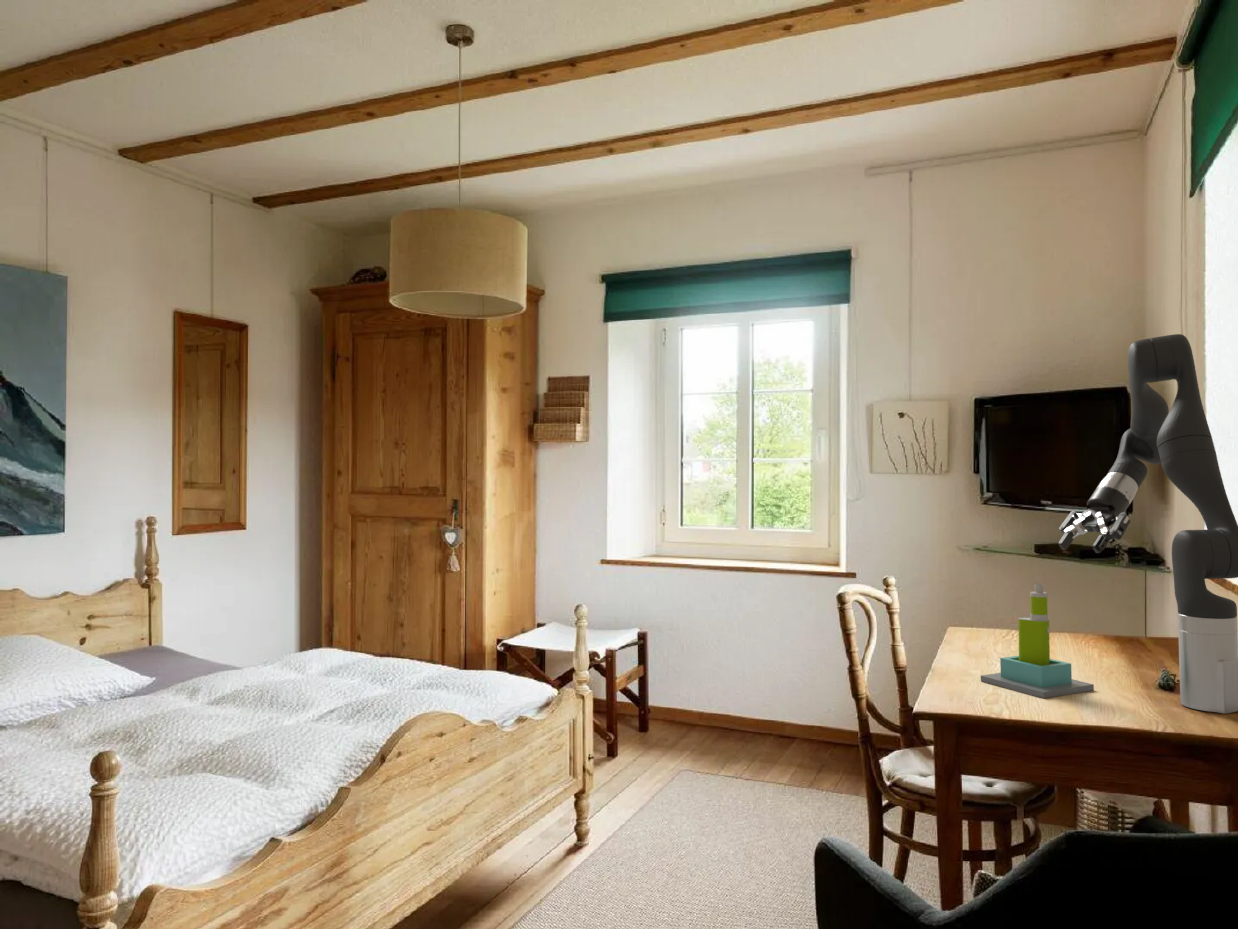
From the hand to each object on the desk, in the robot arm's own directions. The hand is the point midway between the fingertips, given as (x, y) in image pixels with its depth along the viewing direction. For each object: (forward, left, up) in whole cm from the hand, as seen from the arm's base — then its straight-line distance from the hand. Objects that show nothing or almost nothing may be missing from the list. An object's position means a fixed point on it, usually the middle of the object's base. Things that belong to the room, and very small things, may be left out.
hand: (1078, 549), depth 191 cm
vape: (-5, +20, -26) cm, 33 cm away
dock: (-5, +20, -27) cm, 34 cm away
